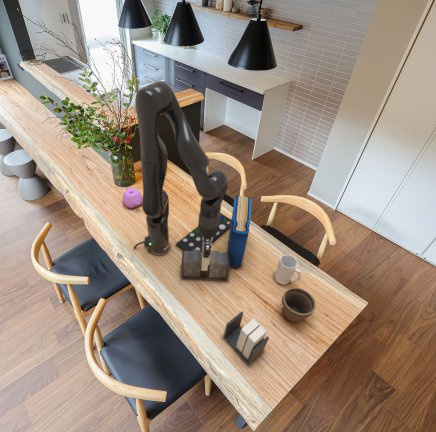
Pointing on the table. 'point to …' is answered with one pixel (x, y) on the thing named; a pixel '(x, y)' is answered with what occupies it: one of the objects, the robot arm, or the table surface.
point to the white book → (204, 261)
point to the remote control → (195, 238)
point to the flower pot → (297, 304)
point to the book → (239, 230)
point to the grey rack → (216, 267)
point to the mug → (287, 270)
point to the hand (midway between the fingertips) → (205, 250)
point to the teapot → (132, 198)
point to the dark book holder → (246, 338)
